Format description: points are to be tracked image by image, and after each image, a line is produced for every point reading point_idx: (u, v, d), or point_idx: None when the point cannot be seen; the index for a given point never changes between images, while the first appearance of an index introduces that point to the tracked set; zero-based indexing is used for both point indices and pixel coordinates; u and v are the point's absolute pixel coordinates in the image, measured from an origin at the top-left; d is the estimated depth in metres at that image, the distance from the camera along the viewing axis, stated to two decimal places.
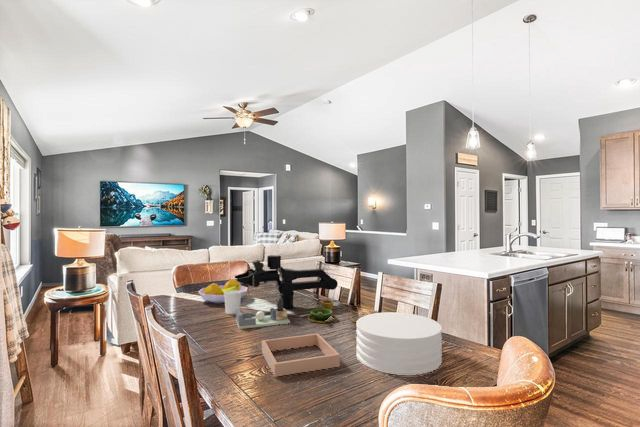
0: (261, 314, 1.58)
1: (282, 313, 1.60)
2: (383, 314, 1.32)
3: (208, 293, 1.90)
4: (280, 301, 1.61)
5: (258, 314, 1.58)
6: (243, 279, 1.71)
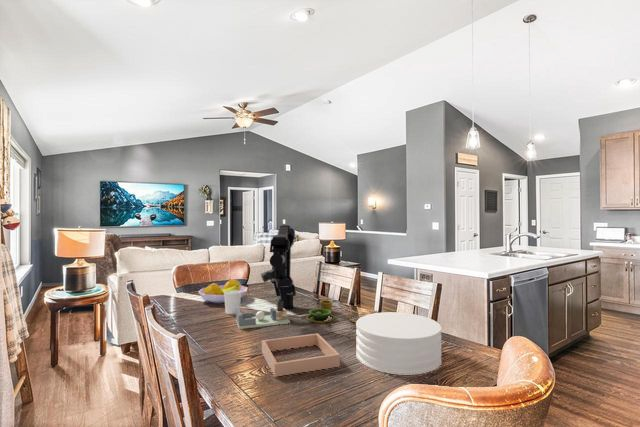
0: (261, 314, 1.58)
1: (282, 313, 1.60)
2: (383, 314, 1.32)
3: (208, 293, 1.89)
4: (280, 301, 1.61)
5: (258, 314, 1.58)
6: (282, 294, 1.57)
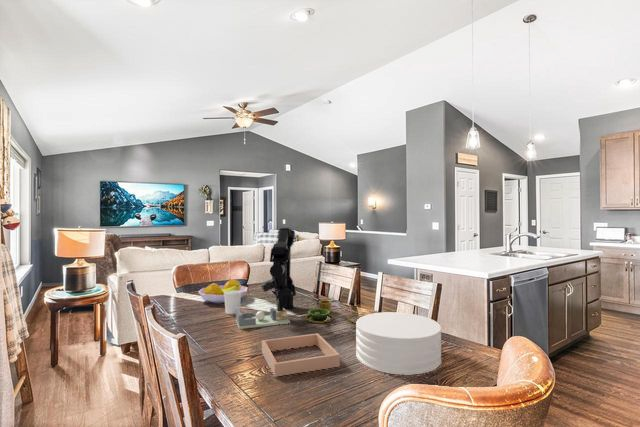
0: (261, 314, 1.58)
1: (282, 313, 1.60)
2: (383, 314, 1.32)
3: (208, 293, 1.90)
4: None
5: (258, 314, 1.58)
6: (280, 303, 1.60)
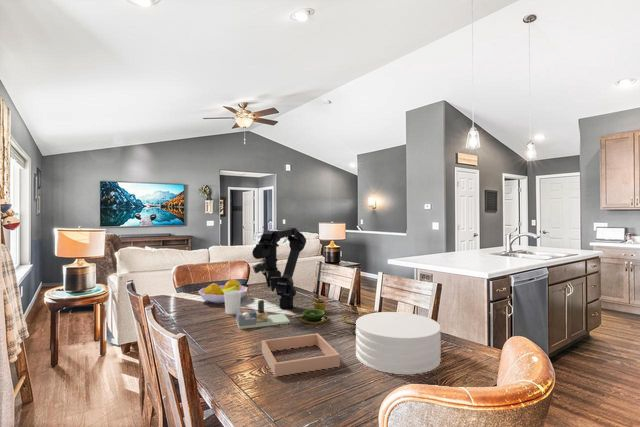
0: None
1: (262, 315, 1.57)
2: (382, 314, 1.32)
3: (208, 293, 1.90)
4: (261, 303, 1.59)
5: None
6: (272, 285, 1.67)
